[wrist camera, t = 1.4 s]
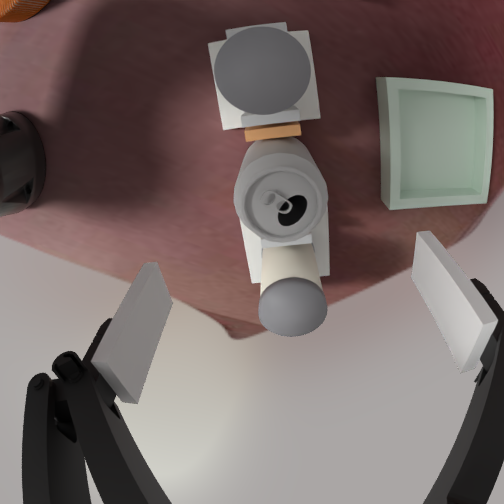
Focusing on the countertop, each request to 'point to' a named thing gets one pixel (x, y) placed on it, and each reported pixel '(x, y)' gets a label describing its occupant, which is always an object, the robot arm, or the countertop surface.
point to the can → (280, 190)
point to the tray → (434, 142)
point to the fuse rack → (265, 127)
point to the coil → (20, 9)
